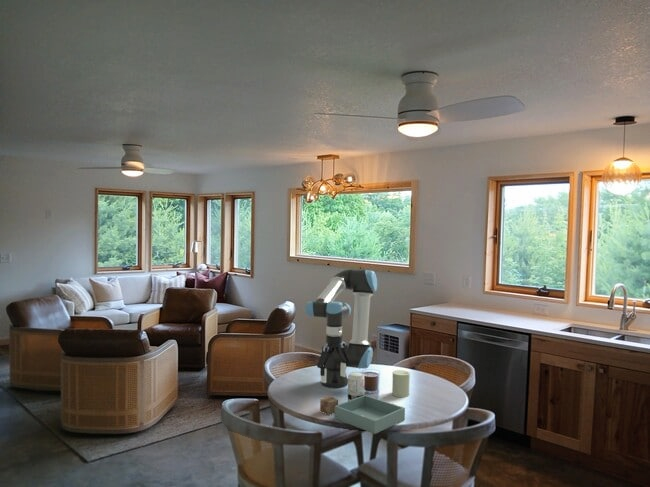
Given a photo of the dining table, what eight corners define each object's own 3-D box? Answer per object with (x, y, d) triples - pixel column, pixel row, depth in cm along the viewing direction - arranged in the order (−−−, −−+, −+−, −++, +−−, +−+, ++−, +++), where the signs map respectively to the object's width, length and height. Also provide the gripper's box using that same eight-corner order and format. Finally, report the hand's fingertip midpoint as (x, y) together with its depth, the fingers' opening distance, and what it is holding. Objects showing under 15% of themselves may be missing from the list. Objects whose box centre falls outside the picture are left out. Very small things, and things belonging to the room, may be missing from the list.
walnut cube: (320, 411, 227) (320, 399, 227) (329, 408, 231) (329, 396, 231) (329, 415, 223) (329, 402, 223) (338, 412, 227) (338, 399, 227)
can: (409, 397, 247) (409, 374, 247) (391, 396, 249) (391, 373, 249) (409, 392, 256) (410, 369, 256) (392, 390, 258) (392, 368, 258)
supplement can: (346, 401, 241) (347, 371, 241) (362, 400, 242) (363, 371, 242) (348, 407, 233) (349, 376, 233) (365, 406, 234) (365, 376, 234)
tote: (334, 418, 219) (334, 406, 219) (364, 406, 235) (365, 394, 234) (374, 434, 203) (375, 421, 203) (404, 420, 218) (404, 407, 218)
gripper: (321, 340, 215) (320, 386, 215) (357, 332, 233) (356, 375, 233) (309, 337, 220) (309, 383, 221) (345, 330, 238) (344, 372, 239)
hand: (333, 379), depth 227 cm, fingers open, 13 cm apart
